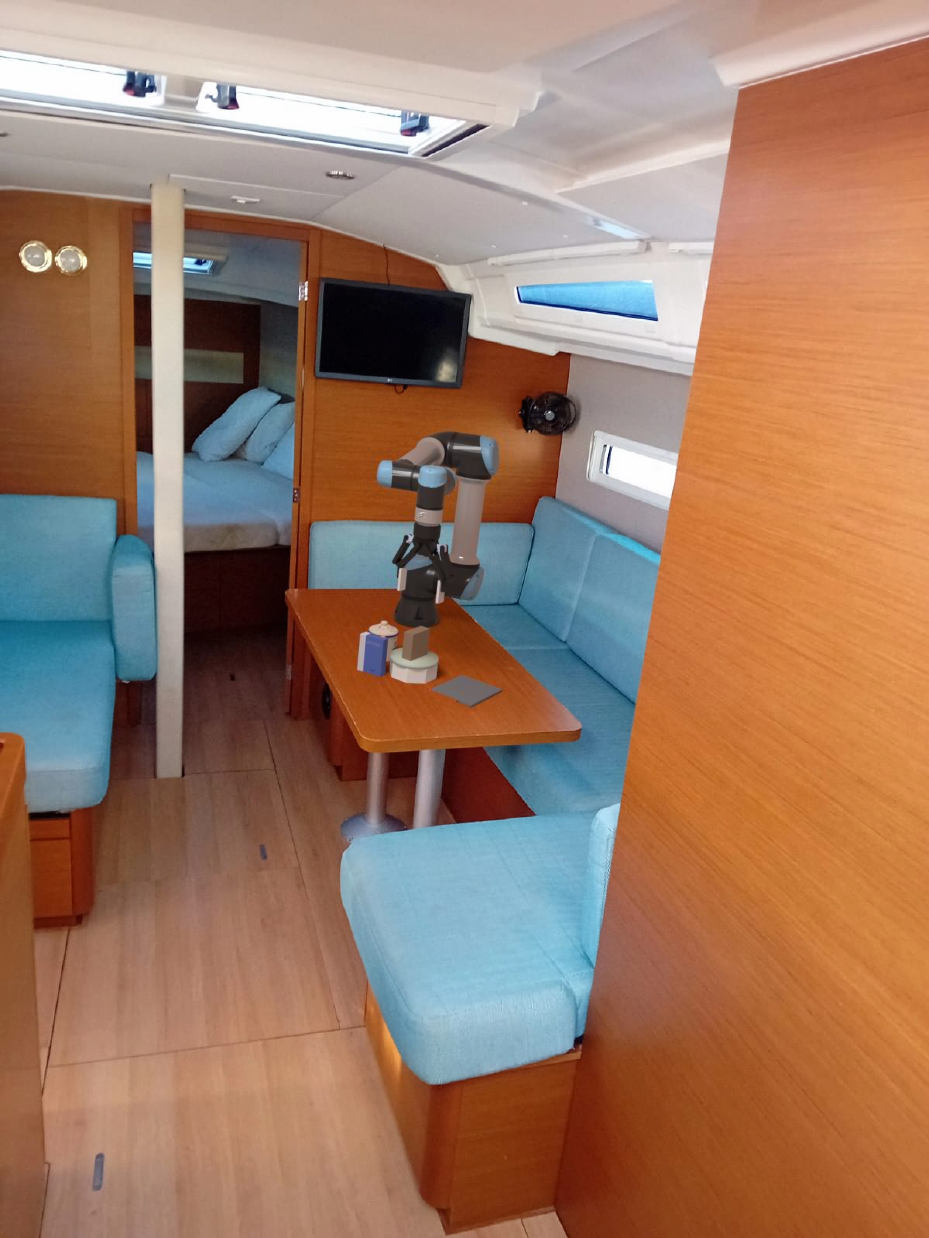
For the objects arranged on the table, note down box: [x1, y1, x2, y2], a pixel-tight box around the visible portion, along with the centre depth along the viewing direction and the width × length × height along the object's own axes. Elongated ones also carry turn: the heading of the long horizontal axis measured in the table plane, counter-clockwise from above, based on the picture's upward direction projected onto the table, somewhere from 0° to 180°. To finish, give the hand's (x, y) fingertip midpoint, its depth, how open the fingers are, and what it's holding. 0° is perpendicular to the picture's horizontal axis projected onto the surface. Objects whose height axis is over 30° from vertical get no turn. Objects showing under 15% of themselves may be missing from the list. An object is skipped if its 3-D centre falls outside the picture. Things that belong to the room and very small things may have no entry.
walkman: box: [356, 631, 388, 677], centre depth 267 cm, size 8×3×12 cm, turn 64°
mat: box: [430, 674, 503, 708], centre depth 265 cm, size 16×14×1 cm
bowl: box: [388, 660, 439, 685], centre depth 270 cm, size 13×13×5 cm
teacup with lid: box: [367, 620, 400, 662], centre depth 281 cm, size 12×9×12 cm
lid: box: [390, 626, 440, 669], centre depth 268 cm, size 14×14×9 cm
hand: (420, 596), depth 263 cm, fingers open, 13 cm apart
